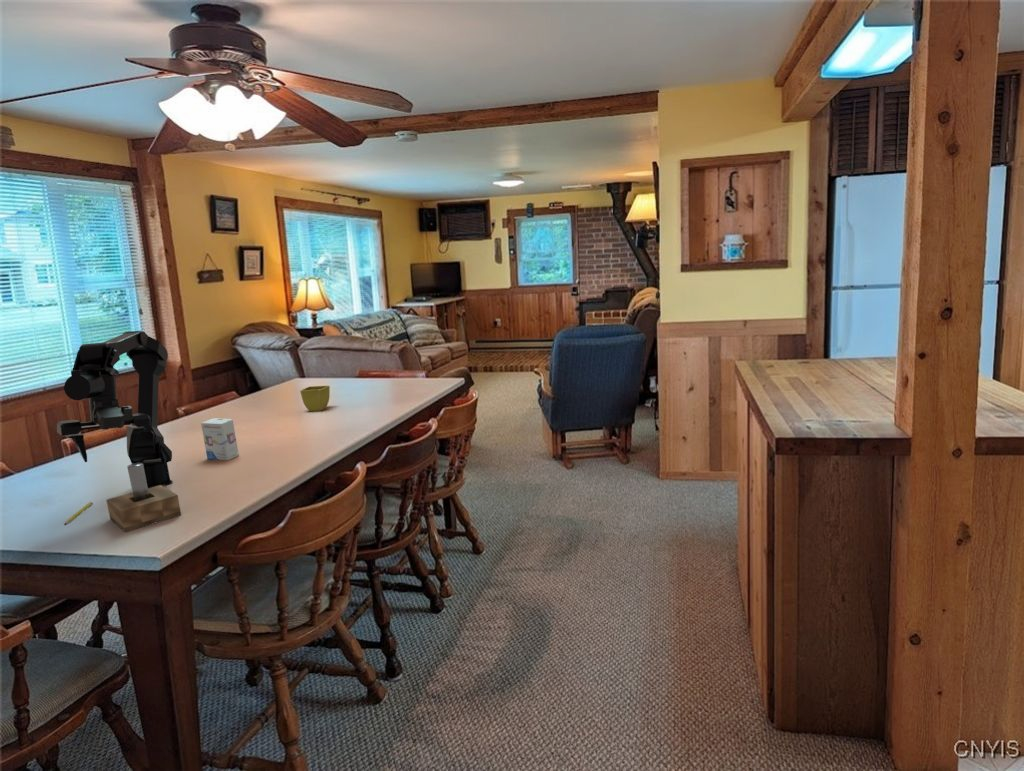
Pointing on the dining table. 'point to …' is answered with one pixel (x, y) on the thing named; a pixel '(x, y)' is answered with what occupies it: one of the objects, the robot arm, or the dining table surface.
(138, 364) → the robot arm
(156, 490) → the socket block
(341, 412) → the dining table surface
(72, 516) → the pencil
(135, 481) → the pin
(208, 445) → the ink box
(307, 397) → the flower pot
